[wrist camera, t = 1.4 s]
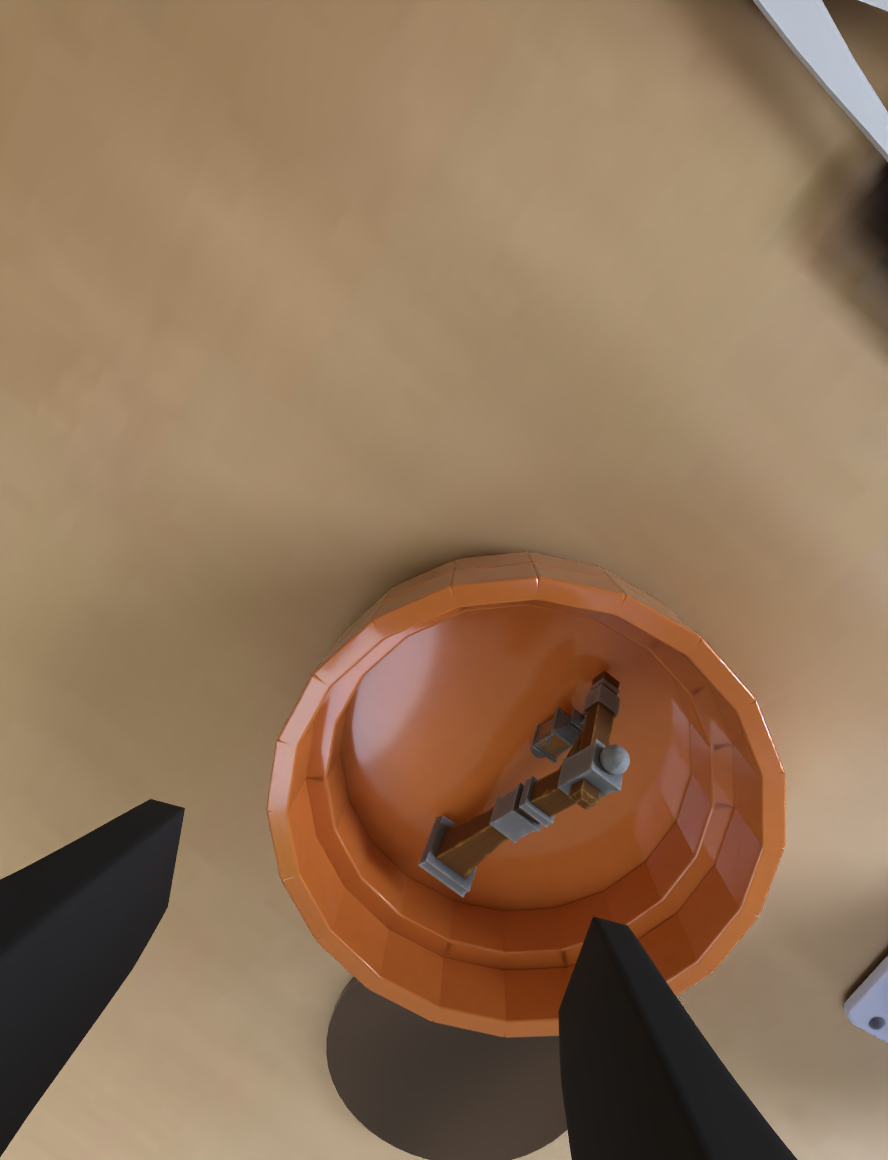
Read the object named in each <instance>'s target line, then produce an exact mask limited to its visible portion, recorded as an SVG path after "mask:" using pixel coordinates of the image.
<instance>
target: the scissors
mask: <svg viewBox="0 0 888 1160" xmlns="http://www.w3.org/2000/svg"><path fill="white" fill-rule="evenodd" d="M859 1H862V2H864V3H867V4H870V5H872V6H875V7H878V8H880V9H883V10H886V11H888V0H859ZM753 2H754V3H755V4H756V5H757V7H758V8H759V9H760V11H761V12H762V13H763V14H764V16H765V17H766V18H767V20H768V21H769V22H770V23H771V25H772V26H773V27H774V29H775V30H776V31H777V33H778V34H779V35H780V36H781V38H782V39H783V40H784V42H785V43H786V44H787V45H788V47H789V48H790V49H791V51H792V52H793V53H794V54H795V55H796V57H797V58H798V59H799V60H800V61H801V62H802V64H803V65H804V66H805V67H806V68H807V70H808V71H809V72H810V73H811V74H812V76H813V77H814V78H815V79H816V80H817V82H818V83H819V84H820V85H821V86H822V87H823V89H824V90H825V91H826V92H827V93H828V95H829V96H830V97H831V98H832V99H833V100H834V101H835V102H836V104H837V105H838V106H839V107H840V108H841V109H842V110H843V111H844V112H845V114H846V115H847V116H848V117H849V118H850V119H851V120H852V121H853V123H854V124H855V125H856V126H857V127H858V128H859V129H860V130H861V131H862V133H863V134H864V135H865V136H866V137H867V138H868V139H869V141H870V142H871V143H872V144H873V145H874V146H875V148H876V149H877V150H878V151H879V152H880V154H881V155H882V156H883V157H884V158H885V159H886V161H887V162H888V112H887V110H886V109H885V107H884V106H883V104H882V103H881V101H880V99H879V98H878V96H877V95H876V93H875V91H874V90H873V88H872V87H871V85H870V83H869V82H868V80H867V79H866V77H865V76H864V74H863V72H862V71H861V69H860V68H859V66H858V64H857V63H856V61H855V59H854V58H853V56H852V54H851V52H850V50H849V49H848V47H847V45H846V43H845V41H844V40H843V38H842V36H841V34H840V32H839V30H838V29H837V27H836V25H835V23H834V21H833V20H832V18H831V16H830V14H829V12H828V10H827V9H826V7H825V5H824V3H823V1H822V0H753Z"/></svg>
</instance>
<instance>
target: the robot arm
mask: <svg viewBox="0 0 888 1160" xmlns="http://www.w3.org/2000/svg"><path fill="white" fill-rule="evenodd" d="M184 810H185V808H183V807H179V806H175V805H171V804H167V803H164V802H160V801H156V800H152V799H150V800H148V801H146V802H144V803H142V804H141V805H139V806H137V807H135V808H133V809H131V810H130V811H128V812H126V813H124V814H122V815H120V816H119V817H117V818H115V819H113V820H111V821H110V822H108V823H106V824H104V825H103V826H101V827H99V828H97V829H95V830H94V831H92V832H90V833H88V834H86V835H85V836H83V837H81V838H79V839H77V840H76V841H74V842H72V843H70V844H68V845H66V846H64V847H63V848H61V849H59V850H57V851H55V852H53V853H51V854H50V855H48V856H46V857H44V858H42V859H40V860H38V861H36V862H35V863H33V864H31V865H29V866H27V867H25V868H23V869H21V870H19V871H17V872H15V873H13V874H11V875H9V876H7V877H5V878H3V879H1V880H0V1157H1V1155H2V1154H3V1152H4V1151H5V1149H6V1148H7V1146H8V1145H9V1143H10V1142H11V1140H12V1139H13V1137H14V1136H15V1134H16V1133H17V1131H18V1130H19V1128H20V1127H21V1125H22V1124H23V1123H24V1121H25V1120H26V1118H27V1117H28V1115H29V1114H30V1112H31V1111H32V1110H33V1108H34V1107H35V1105H36V1104H37V1103H38V1101H39V1100H40V1098H41V1097H42V1096H43V1094H44V1093H45V1091H46V1090H47V1089H48V1087H49V1086H50V1084H51V1083H52V1082H53V1080H54V1079H55V1077H56V1076H57V1075H58V1073H59V1072H60V1070H61V1069H62V1068H63V1066H64V1065H65V1063H66V1062H67V1061H68V1059H69V1058H70V1056H71V1055H72V1054H73V1052H74V1051H75V1050H76V1048H77V1047H78V1045H79V1044H80V1043H81V1041H82V1040H83V1038H84V1037H85V1036H86V1034H87V1033H88V1031H89V1030H90V1029H91V1027H92V1026H93V1024H94V1023H95V1022H96V1020H97V1019H98V1017H99V1016H100V1015H101V1013H102V1012H103V1010H104V1009H105V1007H106V1006H107V1005H108V1003H109V1002H110V1000H111V999H112V998H113V996H114V995H115V993H116V992H117V990H118V989H119V988H120V986H121V985H122V983H123V982H124V980H125V979H126V978H127V976H128V975H129V973H130V972H131V970H132V969H133V967H134V966H135V964H136V962H137V961H138V959H139V957H140V955H141V954H142V952H143V950H144V948H145V947H146V945H147V943H148V942H149V940H150V938H151V936H152V934H153V933H154V931H155V929H156V927H157V925H158V924H159V922H160V920H161V918H162V916H163V915H164V913H165V911H166V909H167V907H168V902H169V896H170V891H171V885H172V879H173V874H174V868H175V862H176V856H177V851H178V845H179V839H180V833H181V828H182V822H183V816H184ZM844 1012H845V1014H846V1016H847V1017H848V1019H849V1020H850V1022H851V1023H852V1024H854V1025H855V1026H857V1027H859V1028H861V1029H862V1030H864V1031H866V1032H868V1033H870V1034H872V1035H874V1036H875V1037H877V1038H879V1039H881V1040H883V1041H885V1042H887V1043H888V955H887V956H886V958H885V959H884V960H883V961H882V962H881V963H880V964H879V965H878V966H877V967H876V969H875V970H874V971H873V972H872V973H871V974H870V975H869V976H868V977H867V979H866V980H865V981H864V982H863V983H862V984H861V985H860V986H859V987H858V988H857V990H856V991H855V992H854V993H853V994H852V995H851V996H850V997H849V998H848V999H847V1001H846V1002H845V1004H844ZM558 1018H559V1051H560V1071H561V1086H562V1093H563V1101H564V1108H565V1115H566V1122H567V1129H568V1136H569V1143H570V1150H571V1157H572V1160H797V1159H796V1157H795V1156H794V1155H793V1154H792V1152H791V1151H790V1150H789V1149H788V1148H787V1146H786V1145H785V1144H784V1143H783V1141H782V1140H781V1139H780V1138H779V1136H778V1135H777V1134H776V1133H775V1131H774V1130H773V1129H772V1128H771V1126H770V1125H769V1124H768V1122H767V1121H766V1120H765V1118H764V1117H763V1116H762V1115H761V1113H760V1112H759V1111H758V1109H757V1108H756V1107H755V1105H754V1104H753V1103H752V1101H751V1100H750V1099H749V1098H748V1096H747V1095H746V1094H745V1092H744V1091H743V1090H742V1088H741V1087H740V1086H739V1084H738V1083H737V1082H736V1081H735V1079H734V1078H733V1076H732V1075H731V1074H730V1072H729V1071H728V1070H727V1068H726V1067H725V1065H724V1064H723V1063H722V1061H721V1060H720V1059H719V1057H718V1056H717V1054H716V1053H715V1052H714V1050H713V1049H712V1047H711V1046H710V1045H709V1043H708V1042H707V1040H706V1039H705V1038H704V1036H703V1035H702V1033H701V1032H700V1030H699V1029H698V1028H697V1026H696V1025H695V1023H694V1022H693V1020H692V1019H691V1017H690V1016H689V1015H688V1013H687V1012H686V1010H685V1009H684V1007H683V1006H682V1004H681V1003H680V1001H679V1000H678V998H677V997H676V995H675V994H674V993H673V991H672V990H671V988H670V987H669V985H668V984H667V982H666V981H665V979H664V978H663V976H662V975H661V973H660V972H659V970H658V969H657V967H656V966H655V964H654V963H653V961H652V960H651V958H650V957H649V955H648V954H647V952H646V951H645V949H644V948H643V946H642V945H641V943H640V942H639V940H638V939H637V938H636V936H635V935H634V933H633V932H632V930H631V929H630V928H629V926H628V925H624V924H620V923H617V922H613V921H609V920H605V919H602V918H598V917H594V916H593V918H592V921H591V923H590V926H589V929H588V932H587V934H586V937H585V940H584V942H583V945H582V948H581V951H580V953H579V956H578V959H577V961H576V964H575V967H574V970H573V972H572V975H571V978H570V980H569V983H568V986H567V989H566V991H565V994H564V997H563V1000H562V1002H561V1005H560V1008H559V1010H558Z"/></svg>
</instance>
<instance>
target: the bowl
mask: <svg viewBox="0 0 888 1160" xmlns="http://www.w3.org/2000/svg"><path fill="white" fill-rule="evenodd" d="M604 670H605V671H606V672H607V673H609V674H610V675H611V676H612V677H614V678H615V679H616V680H618V681H619V682H620V685H619V688H618V690H619V694H617V696H618V697H619V698H620V705H619V711H618V716H616V717H615V718H614V719H613V726H612V733H611V739H610V745H614V744H616V745H619V746H621V747H623V748H624V749H625V750H626V751H627V753H628V755H629V758H630V764H629V766H628V768H627V770H626V771H625V772H624V773H623V776H622V785H621V791H617V792H612V793H610V794H608V795H606V796H604V797H602V798H600V802H599V803H598V804H596V805H594V806H593V807H591V808H589V809H587V810H585V809H584V808H582V807H581V806H580V805H578V804H575V805H573V806H571V807H569V808H567V809H565V810H563V811H561V812H559V813H557V814H555V816H554V821H553V824H549V825H548V826H547V828H546V827H545V826H544V825H541V830H540V831H534V832H531V833H529V834H527V835H525V836H523V837H521V838H520V839H519V840H518V841H517V842H516V843H514V842H513V841H512V840H510V839H509V840H507V841H506V842H504V843H503V844H501V845H499V846H498V847H497V848H496V849H495V850H494V851H493V852H491V853H490V854H489V855H488V856H487V857H486V858H485V859H484V860H483V861H481V862H480V863H479V864H478V865H477V868H476V872H475V875H474V878H473V882H472V885H471V888H470V892H466V893H465V895H464V898H463V897H462V896H460V895H459V894H458V893H456V892H455V891H454V890H452V889H451V888H449V887H448V886H447V885H445V884H444V883H442V882H441V881H440V880H438V879H437V878H435V877H434V876H433V875H431V874H430V873H429V872H427V871H426V870H424V869H423V868H422V867H420V866H419V865H418V864H419V861H420V859H421V856H422V853H423V851H424V848H425V846H426V843H427V840H428V838H429V835H430V833H431V830H432V827H433V825H434V822H435V820H436V817H437V818H441V817H442V816H443V815H444V816H445V817H447V818H448V819H449V820H451V821H452V822H453V823H455V824H458V823H461V822H463V821H465V820H468V819H470V818H472V817H475V816H477V815H479V814H482V813H484V812H486V811H488V810H489V809H491V808H492V807H494V806H495V803H496V799H497V797H500V796H504V795H505V794H507V793H509V792H510V791H512V790H513V789H515V788H516V787H517V785H518V784H519V783H521V784H523V785H524V784H525V780H526V778H527V779H528V778H531V776H534V777H535V778H536V779H538V780H539V779H541V778H543V777H545V776H547V775H549V774H551V773H553V772H555V771H557V770H558V769H559V768H560V766H561V764H562V763H563V758H566V756H567V755H568V753H569V751H570V750H571V748H569V749H568V750H567V751H566V752H564V753H563V754H562V755H561V756H560V757H558V759H557V762H556V764H554V763H553V762H551V761H550V760H549V759H547V758H546V757H545V758H537V757H535V756H534V755H533V754H532V752H531V743H532V742H533V738H534V735H535V731H536V727H537V725H538V724H539V725H544V724H545V723H547V722H549V721H550V720H552V719H553V718H554V715H555V710H556V708H557V707H559V708H561V709H562V710H563V711H565V712H566V713H567V714H568V715H570V713H571V714H572V712H573V708H574V709H576V710H577V711H578V712H580V713H581V714H582V713H583V712H582V710H583V709H584V705H585V700H586V696H587V694H588V693H589V692H591V691H590V687H591V686H592V679H593V678H595V677H596V676H597V675H599V674H600V673H601V672H603V671H604ZM266 809H267V815H268V820H269V825H270V830H271V835H272V840H273V845H274V850H275V855H276V860H277V865H278V870H279V875H280V878H281V880H282V883H283V885H284V886H285V888H286V890H287V891H288V893H289V895H290V897H291V898H292V900H293V902H294V904H295V905H296V907H297V909H298V911H299V912H300V914H301V916H302V917H303V919H304V921H305V923H306V924H307V926H308V928H309V930H310V931H311V933H312V935H313V936H314V938H315V939H316V941H317V942H318V943H319V944H320V945H321V946H322V947H323V948H324V949H325V950H326V951H327V952H328V953H330V954H331V955H332V956H333V957H334V958H335V959H336V960H337V961H338V962H339V963H340V964H341V965H342V966H344V967H345V968H346V969H347V970H348V971H349V972H350V973H351V974H352V975H353V976H354V977H355V978H356V979H358V980H359V981H360V982H361V983H362V984H363V985H364V986H365V987H366V988H368V989H369V990H371V991H373V992H375V993H376V994H378V995H380V996H382V997H384V998H386V999H388V1000H390V1001H392V1002H394V1003H396V1004H398V1005H400V1006H402V1007H404V1008H406V1009H408V1010H410V1011H412V1012H414V1013H415V1014H417V1015H419V1016H421V1017H423V1018H425V1019H427V1020H429V1021H431V1022H432V1021H433V1022H435V1023H439V1024H444V1025H449V1026H453V1027H458V1028H462V1029H467V1030H471V1031H476V1032H481V1033H485V1034H490V1035H494V1036H499V1037H506V1038H512V1037H538V1036H559V1018H558V1010H559V1008H560V1005H561V1002H562V1000H563V997H564V994H565V991H566V989H567V986H568V983H569V980H570V978H571V975H572V972H573V970H574V967H575V964H576V961H577V959H578V956H579V953H580V951H581V948H582V945H583V942H584V940H585V937H586V934H587V932H588V929H589V926H590V923H591V921H592V918H593V916H594V917H598V918H602V919H605V920H609V921H613V922H617V923H620V924H624V925H628V926H629V928H630V929H631V930H632V932H633V933H634V935H635V936H636V938H637V939H638V940H639V942H640V943H641V945H642V946H643V948H644V949H645V951H646V952H647V954H648V955H649V957H650V958H651V960H652V961H653V963H654V964H655V966H656V967H657V969H658V970H659V972H660V973H661V975H662V976H663V978H664V979H665V981H666V982H667V984H668V985H669V987H670V988H671V990H672V991H673V993H674V994H675V995H676V996H677V995H679V994H680V993H682V992H683V991H685V990H687V989H688V988H690V987H691V986H693V985H694V984H696V983H697V982H699V981H700V980H702V979H703V978H705V977H707V976H708V975H710V974H711V973H712V972H713V971H715V969H716V968H717V967H718V966H719V965H720V963H721V962H722V961H723V960H724V958H725V957H726V956H727V955H728V954H729V952H730V951H731V950H732V949H733V948H734V946H735V945H736V944H737V943H738V942H739V940H740V939H741V938H742V937H743V935H744V934H745V933H746V932H747V931H748V929H749V928H750V927H751V926H752V925H753V923H754V922H755V921H756V920H757V919H758V917H759V914H760V913H761V910H762V907H763V905H764V902H765V899H766V897H767V894H768V891H769V889H770V886H771V883H772V880H773V878H774V875H775V872H776V870H777V867H778V864H779V862H780V859H781V856H782V854H783V851H784V847H785V773H784V769H783V766H782V764H781V761H780V758H779V756H778V753H777V751H776V748H775V745H774V743H773V740H772V738H771V735H770V733H769V730H768V727H767V725H766V722H765V720H764V717H763V714H762V712H761V709H760V707H759V704H758V702H757V700H756V699H755V697H754V695H753V694H752V693H751V692H750V691H749V690H748V689H747V687H746V686H745V685H744V684H743V683H742V682H741V681H740V679H739V678H738V677H737V676H736V675H735V674H734V673H733V672H732V670H731V669H730V668H729V667H728V666H727V665H726V664H725V662H724V661H723V660H722V659H721V658H720V657H719V656H718V654H717V653H716V652H715V651H714V650H713V649H712V648H711V647H710V645H709V644H708V643H707V642H706V641H705V640H704V639H703V638H702V637H701V636H700V635H699V634H698V633H696V632H695V631H694V630H693V629H692V628H691V627H690V626H688V625H687V624H686V623H685V622H684V621H683V620H681V619H680V618H679V617H678V616H677V615H676V614H675V613H673V612H672V611H671V610H670V609H669V608H668V607H667V606H665V605H664V604H663V603H662V602H661V601H659V600H658V599H656V598H655V597H653V596H651V595H649V594H648V593H646V592H644V591H642V590H641V589H639V588H637V587H635V586H634V585H632V584H630V583H628V582H626V581H625V580H623V579H621V578H619V577H618V576H616V575H614V574H612V573H611V572H609V571H607V570H605V569H604V568H602V567H599V566H597V565H593V564H588V563H583V562H578V561H573V560H568V559H564V558H559V557H554V556H549V555H544V554H539V553H534V552H528V553H527V552H517V553H508V554H498V555H489V556H480V557H470V558H461V559H457V561H456V560H453V561H450V562H448V563H446V564H444V565H441V566H439V567H437V568H435V569H432V570H430V571H428V572H426V573H423V574H421V575H419V576H417V577H414V578H412V579H410V580H408V581H405V582H403V583H401V584H399V585H396V586H394V587H393V588H392V589H390V590H389V591H388V592H386V593H385V594H384V595H383V596H382V597H381V598H380V599H379V600H378V601H377V602H375V603H374V604H373V605H372V606H371V607H370V608H369V609H368V610H367V611H366V612H365V613H363V614H362V615H361V616H360V617H359V618H358V619H357V620H356V621H355V622H354V623H352V624H351V625H350V626H349V627H348V628H347V629H346V630H345V631H344V632H343V633H342V635H341V636H340V637H339V639H338V640H337V641H336V643H335V644H334V645H333V647H332V648H331V649H330V651H329V652H328V653H327V655H326V656H325V657H324V659H323V660H322V661H321V663H320V664H319V665H318V667H317V668H316V669H315V671H314V672H313V673H312V675H311V677H310V678H309V680H308V682H307V684H306V686H305V688H304V690H303V691H302V693H301V695H300V697H299V699H298V701H297V702H296V704H295V706H294V708H293V710H292V712H291V714H290V715H289V717H288V719H287V721H286V723H285V725H284V727H283V728H282V730H281V732H280V734H279V736H278V739H277V741H276V747H275V754H274V760H273V767H272V774H271V781H270V788H269V795H268V802H267V808H266Z"/></svg>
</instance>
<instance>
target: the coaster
mask: <svg viewBox="0 0 888 1160" xmlns="http://www.w3.org/2000/svg"><path fill="white" fill-rule="evenodd" d="M327 1060H328V1067H329V1071H330V1074H331V1077H332V1081H333V1083H334V1085H335V1088H336V1090H337V1092H338V1094H339V1096H340V1097H341V1099H342V1100H343V1102H344V1103H345V1105H346V1106H347V1108H348V1109H349V1110H350V1111H351V1113H352V1114H353V1115H354V1116H355V1117H356V1118H357V1120H359V1121H360V1122H361V1123H362V1124H363V1125H364V1126H365V1127H366V1128H367V1129H368V1130H370V1131H371V1132H372V1133H374V1134H375V1135H377V1136H378V1137H379V1138H381V1139H382V1140H384V1141H386V1142H387V1143H389V1144H391V1145H393V1146H394V1147H396V1148H398V1149H401V1150H403V1151H405V1152H408V1153H410V1154H412V1155H415V1156H419V1157H422V1158H425V1159H428V1160H512V1159H516V1158H519V1157H522V1156H525V1155H528V1154H530V1153H532V1152H534V1151H536V1150H539V1149H541V1148H542V1147H544V1146H546V1145H547V1144H549V1143H551V1142H552V1141H554V1140H555V1139H556V1138H558V1137H559V1136H560V1135H561V1134H563V1133H564V1132H565V1131H566V1130H567V1122H566V1115H565V1108H564V1101H563V1093H562V1086H561V1071H560V1051H559V1036H538V1037H512V1038H506V1037H499V1036H494V1035H490V1034H485V1033H481V1032H476V1031H471V1030H467V1029H462V1028H458V1027H453V1026H449V1025H444V1024H439V1023H435V1022H433V1021H432V1022H431V1021H429V1020H427V1019H425V1018H423V1017H421V1016H419V1015H417V1014H415V1013H414V1012H412V1011H410V1010H408V1009H406V1008H404V1007H402V1006H400V1005H398V1004H396V1003H394V1002H392V1001H390V1000H388V999H386V998H384V997H382V996H380V995H378V994H376V993H375V992H373V991H371V990H369V989H368V988H366V987H365V986H364V985H363V984H362V983H361V982H360V981H359V980H358V979H356V978H355V977H354V978H353V979H352V980H351V982H350V983H349V984H348V985H347V987H346V988H345V989H344V991H343V992H342V994H341V996H340V998H339V1000H338V1001H337V1003H336V1005H335V1008H334V1011H333V1014H332V1017H331V1020H330V1024H329V1029H328V1035H327Z"/></svg>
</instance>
